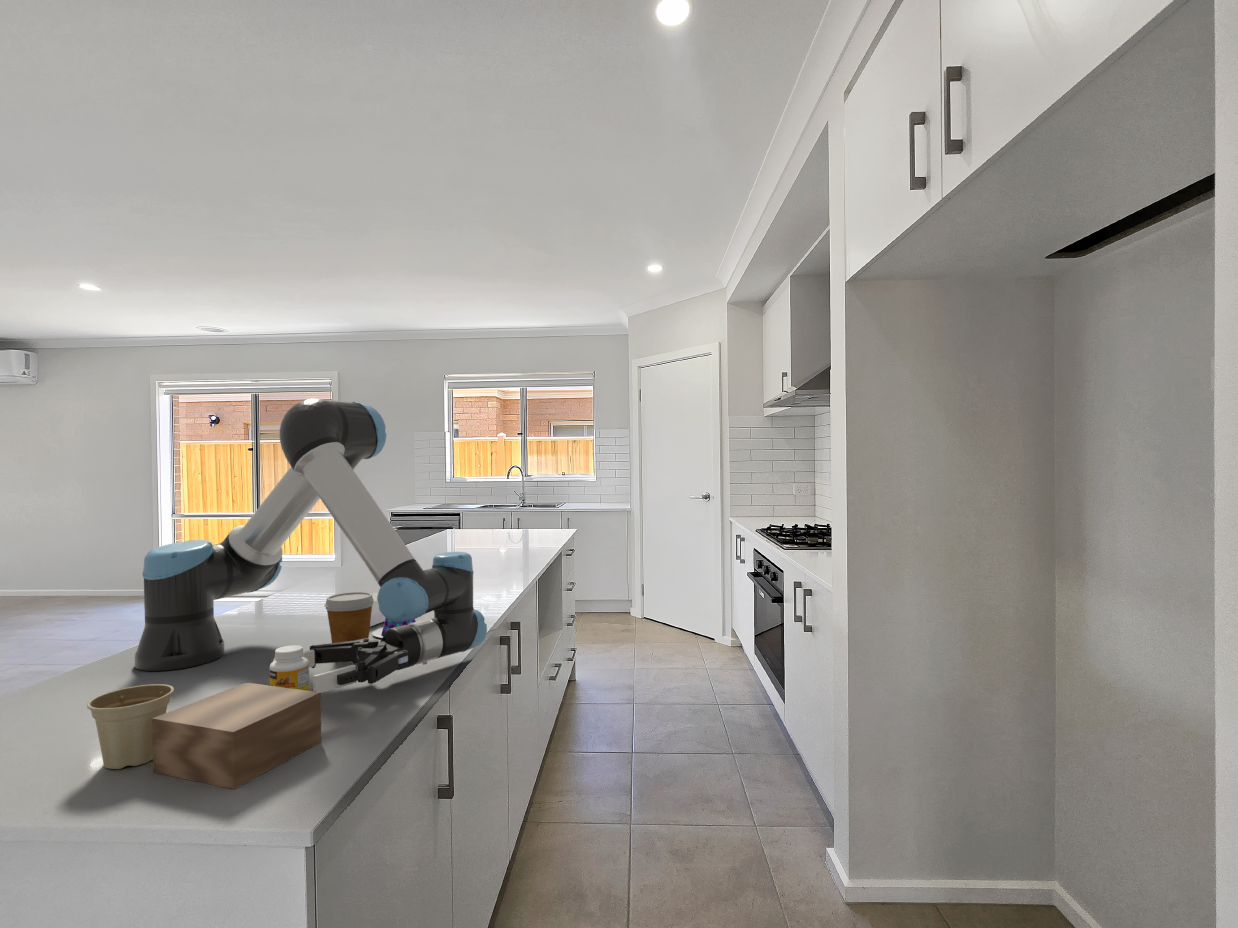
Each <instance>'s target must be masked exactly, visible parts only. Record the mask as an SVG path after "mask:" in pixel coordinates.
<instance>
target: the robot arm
mask: <svg viewBox="0 0 1238 928" xmlns="http://www.w3.org/2000/svg"><path fill="white" fill-rule="evenodd" d="M386 428H387V427H386V424H385V421H384V419H383V417H382V415H381V413H380V412H378V410H377V409H376V408H374V407H373V406H371V405H369V404H365V403H361V402H358V401H351V402H348V401H340V400H330V399H323V398H307V399H305V400H301V401H299V402H297V403H296V404H294V405H292V406H291V407H290V408H289V409H288V411H286V413H285V414H284V416H283V418H282V419H281V422H280V425H279V442H280V447H281V449H282V452H283V455H284V457H285V459H286V460H287V462H288V464H289V466H290V467H289V469H288V470H287V471H286V472H285V473H284V474H283V476H282V478H280V480H279V481H278V482H277V484H275V486H274V488H273V489H272V490H271V491H270V493H269V494H268V495H267V496H266V498H265V499H264V501H262V503H261V504H260V505H259V507H258V508H257V509H256V510H255V511H254V513H253V515H252V516H251V517H250V518H249V519H248V520H247V522H246V523H245V524H242V525H241V524H240V525H237V526H235V527H234V528H232V529H231V530H230V532H229V533H227V535H226V537H225V538H224V540H222V542H220V543H217V544H213V543H212V542H211V541H209V540H205V539H195V540H186V541H182V542H180V541H179V542H178V541H177V542H174V543H173V542H172V543H168V544H165V545H161V546H158V547H156V548H153V549H151V550H150V551H149V552H147V553H146V555H145V556H144V558H143V571H142V577H143V596H144V597H143V599H144V600H143V603H144V606H143V607H144V628H143V631H142V634H141V637H140V639H139V642H138V645H137V650H136V651H135V653H134V667H135V669H137V670H139V671H144V672H145V671H147V672H149V671H150V672H151V671H152V672H158V671H161V672H162V671H171V670H180V669H185V668H191V667H195V666H200V665H203V664H206V663H209V662H212V661H215V660H217V659H220V658H222V657H223V656H224V655H225V651H226V650H225V640H224V639H223V636H222V634H221V631H220V629H219V627H218V624H217V622H216V621H217V620H216V619H215V613H214V610H215V609H214V608H215V606H214V605H215V604H214V601H217V600H220V599H224V598H225V599H226V598H228V597H232V596H238V595H243V594H246V593H247V594H248V593H253V592H257V591H259V590H261V589H265V588H266V587H268V586H270V585H271V584H273V583H274V582H275V580H277V578H278V577H279V575H280V573H281V571H282V565H281V563H283V547H282V546H283V545H284V544H285V543H286V541H287V540H288V539H289V537H290V536H291V535H292V534H293V533H294V531H296V529H297V528H298V526H299V525H300V524H301V523H302V522H303V520H304V519H305V518H306V517H307V515H308V514H309V513H310V512H311V510H312V509H313V508H314V507H315V505H316V504H317V503H318V502H319V501H320V500H321V502H322V503H323V505H324V506H325V508H326V509H327V511H328V512H329V514H330V515H331V517H332V518H333V519H334V521H335V522H336V524H337V526H338V527H339V528H340V530H341V531H342V533H343V534H344V536H345V538H346V539H347V540H348V542H349V543H350V544H351V545H350V546H352V547H353V549H354V551H355V552H356V554H357V555H358V557H359V558H360V559H361V560H362V562H363V564H364V565H365V566H366V568H367V570H368V571H369V572H370V574H371V575H372V577H373V579H374V580H375V581H376V583H377V584H378V586H379V589H378V591H377V592H378V596H377V601H378V604H379V610H380V612H381V613H382V615H383V616H384V617H386V618H387V619H388V620H391V621H393V622H403V621H407V620H411V619H415V620H416V619H418V618H421V617H422V616H423V615H426V614H429V613H431V612H434V613H433V614H434V615H433V616H434V617H433V618H430V619H429V618H428V619H424V620H420V621H416V622H414V623H410V624H408V625H403V626H399V627H394V628H390V629H388V630H387V631H386V632H385V634H384V636H382V637H383V638H381V640H380V641H379V640H378V639H373V640H369V639H370V638H364V639H360V640H355V641H347V642H339V643H332V642H331V643H323V644H312V645H310V646H309V650H305V651H303V657H305V658H307V659H308V662H309V669H310V668H311V669H315V668H316V667H317V665H318V664H332V663H333V664H334V663H348V662H349V663H350V662H351V663H352V664H351V665H346V666H344V667H343V666H342V667H340V668H336V669H332V670H328V671H325V672H322V673H319V674H314V675H312V680H313V681H312V682H313V683H312V685H313V692H320V693H324V692H328V691H331V690H334V689H339V688H341V687H344V686H349V685H352V684H356V683H357V682H358V683H365V682H367V683H368V684H370V685H372V684H374V683H377V682H379V681H381V680H382V679H384V678H386V677H387V676H389V675H390V674H393V673H394V672H396V671H400V670H404V669H407V668H411V667H413V666H415V665H420V664H422V665H423V666H424V665H427V664H428V662H430V661H433V660H437V659H440V658H444V657H447V656H451V655H456V654H459V653H464V652H466V651H468V650H472V649H474V648H476V647H479V646H480V645H481V644H482V643H483V642H485V639H486V636H487V632H488V627H487V623H486V622H485V616H484V615H483V613H482V612H481V611H479V610H477V609H475V608H474V569H473V568H474V567H473V559H472V558H473V557H472V555H471V554H470V553H467V552H466V551H447V552H441V553H440V552H439V553H437V554H435V555H434V557H432V565H431V568H428V569H423V568H422V567H421V565H420V563H419V562H418V561H417V559H415V557H414V556H413V554H412V552H411V551H410V549H409V548H408V547H407V546H406V544H405V542H404V541H403V540H402V538H401V536H400V535H399V534H398V532H397V531H396V529H395V528H394V527H393V525H392V524H391V522H390V521H389V519H388V518H387V516H386V515H385V514H384V512H383V511H382V509H381V508H380V506H379V505H378V504H377V502H376V500H375V499H374V497H373V496H372V495H371V493H370V492H369V490H368V489H367V488H366V486H365V485H364V483H363V482H362V480H361V479H360V478H359V476H358V475H357V473H356V472H355V470H354V469H355V468H356V467H357V466H358V464H359V463H360V462H361V461H362V460H369V459H372V458H373V457H377V456H378V455H379V454H380V453H381V452H382V450H383V449H384V448H385V444H386V441H387V432H386ZM358 655H359V657H358ZM272 660H273V661H272V662H274V661H275V658H273V659H272Z"/></svg>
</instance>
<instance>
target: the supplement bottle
mask: <svg viewBox="0 0 1238 928" xmlns="http://www.w3.org/2000/svg"><path fill="white" fill-rule="evenodd" d="M303 652H304V648H303V646H301V645H299V644H298V645H285V646H281V647H279V648H276V649H275V651H274V659H275V661H274V662H273V661H272V662H271V663H270V665H269V686H276V687H283V688H290V689H298V690H305V691H310V680H309V679H310V676H309V675H310V668H309V662H308V659H307V658H305V657H303Z"/></svg>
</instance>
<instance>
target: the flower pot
mask: <svg viewBox="0 0 1238 928" xmlns="http://www.w3.org/2000/svg"><path fill="white" fill-rule="evenodd" d="M173 693H175V688H174V686H172V685H170V684H165V683H163V684H160V683H158V684H156V683H155V684H154V683H153V684H141V685H136V686H128V687H123V688H119V689H115V690H112V691H108V692H106V693H103V694H100V695H97V696H96V697H94V698H92V699H90V700H89V701H87V702H86V708H87V709H88V710H90V712H91V716H92V718H93V719H94V720H95V726H96V731H97V736H98V737H97V738H98V741H99V746H100V751H101V758H102V765H103V766H104V768H107V769H112V770H122V769H123V768H125V767H128V766H132V767H137V766H141V765H143V764H145V763H148V762H151V761H153V737H152V718H154V717H157V716H160V715H162V714H165V713H167V709H168V705H169V703H170V702H171V695H172V694H173Z"/></svg>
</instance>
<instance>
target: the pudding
mask: <svg viewBox="0 0 1238 928" xmlns="http://www.w3.org/2000/svg"><path fill="white" fill-rule="evenodd" d="M414 622H417V621H416V619H411V620H407V621H403V622H393V621H391V620H388V619H387V618H386V617H385V621H384V622H383V626H382V627H381V628H378V629H376V630H373V632H372V633H371V635H372V636H373V637H377V638H381V639H382V638H383V636H384V634H385V632H386V631H387V630H388V629H390V628H394V627H399V626H403V625H408V624H410V623H414Z"/></svg>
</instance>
